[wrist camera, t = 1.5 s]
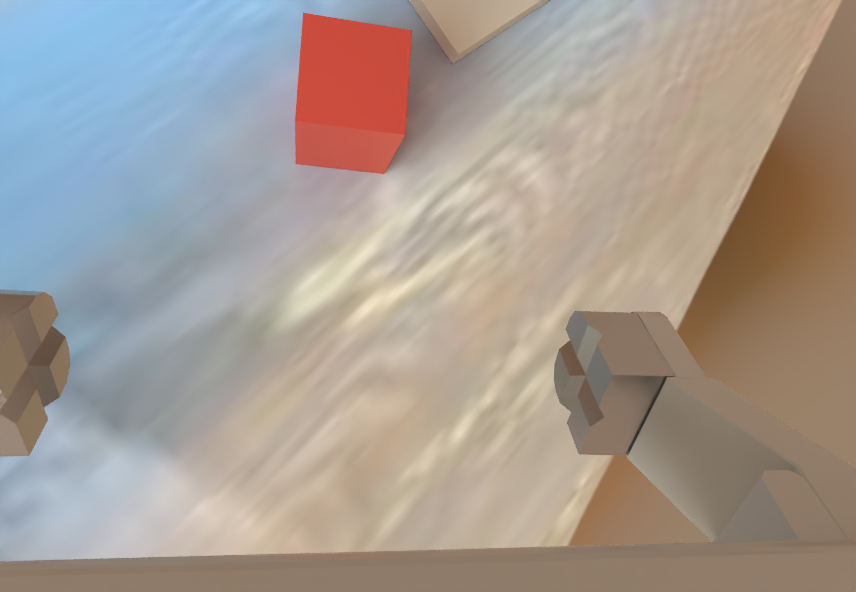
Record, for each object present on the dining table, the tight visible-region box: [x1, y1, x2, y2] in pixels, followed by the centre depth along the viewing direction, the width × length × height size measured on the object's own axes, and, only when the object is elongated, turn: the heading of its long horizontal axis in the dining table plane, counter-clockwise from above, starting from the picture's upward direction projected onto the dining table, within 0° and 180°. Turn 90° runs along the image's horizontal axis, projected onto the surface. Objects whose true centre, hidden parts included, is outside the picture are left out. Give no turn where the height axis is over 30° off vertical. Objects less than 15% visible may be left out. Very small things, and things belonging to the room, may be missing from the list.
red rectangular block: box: [295, 13, 412, 174], centre depth 35 cm, size 6×6×8 cm
